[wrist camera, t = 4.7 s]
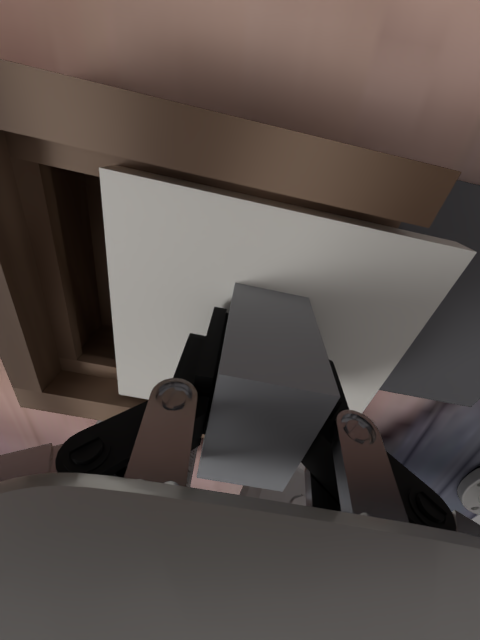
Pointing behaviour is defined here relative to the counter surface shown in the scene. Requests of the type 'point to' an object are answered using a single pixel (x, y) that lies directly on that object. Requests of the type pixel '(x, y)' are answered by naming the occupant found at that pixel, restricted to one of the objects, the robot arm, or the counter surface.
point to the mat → (448, 316)
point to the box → (158, 158)
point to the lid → (263, 309)
